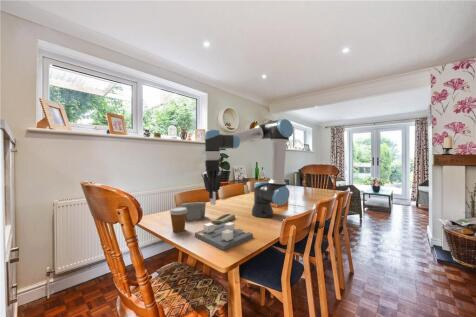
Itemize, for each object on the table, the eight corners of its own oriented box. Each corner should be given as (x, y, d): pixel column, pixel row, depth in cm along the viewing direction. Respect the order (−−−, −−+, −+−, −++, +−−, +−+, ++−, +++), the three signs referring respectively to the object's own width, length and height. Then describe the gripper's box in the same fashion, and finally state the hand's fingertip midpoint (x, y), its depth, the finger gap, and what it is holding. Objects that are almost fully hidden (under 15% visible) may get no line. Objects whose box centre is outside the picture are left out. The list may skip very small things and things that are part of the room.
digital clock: (205, 215, 139) (205, 200, 139) (205, 220, 130) (205, 203, 130) (181, 216, 137) (181, 201, 137) (179, 221, 128) (179, 204, 128)
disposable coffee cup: (165, 232, 110) (165, 210, 110) (176, 226, 119) (176, 205, 119) (180, 234, 107) (180, 211, 107) (190, 228, 116) (190, 207, 116)
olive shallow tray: (224, 217, 138) (224, 212, 138) (235, 218, 134) (235, 213, 134) (211, 224, 124) (211, 218, 124) (222, 226, 120) (222, 220, 120)
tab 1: (209, 229, 108) (209, 222, 108) (214, 230, 106) (214, 224, 106) (203, 231, 105) (203, 224, 105) (207, 233, 103) (207, 226, 103)
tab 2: (229, 228, 109) (229, 222, 109) (234, 230, 107) (234, 223, 107) (224, 230, 106) (224, 223, 106) (228, 232, 104) (228, 225, 104)
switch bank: (223, 226, 118) (223, 223, 118) (252, 237, 103) (252, 233, 103) (194, 236, 104) (194, 232, 104) (223, 250, 89) (223, 246, 89)
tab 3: (228, 236, 99) (228, 229, 98) (233, 238, 96) (233, 231, 96) (221, 239, 96) (221, 231, 96) (226, 241, 93) (226, 233, 93)
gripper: (217, 159, 114) (217, 201, 114) (197, 159, 104) (198, 205, 105) (226, 159, 109) (226, 203, 109) (207, 160, 99) (207, 208, 100)
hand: (212, 204), depth 107 cm, fingers closed
